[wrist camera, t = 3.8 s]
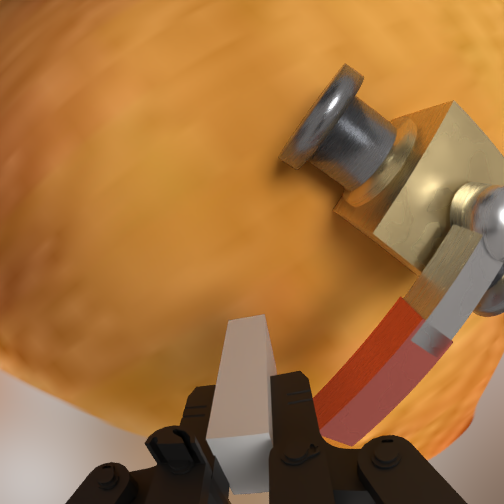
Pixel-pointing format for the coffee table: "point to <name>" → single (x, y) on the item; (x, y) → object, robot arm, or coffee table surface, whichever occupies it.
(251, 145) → the coffee table surface
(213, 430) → the robot arm
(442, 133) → the valve body
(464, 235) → the lever
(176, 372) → the coffee table surface
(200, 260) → the coffee table surface
